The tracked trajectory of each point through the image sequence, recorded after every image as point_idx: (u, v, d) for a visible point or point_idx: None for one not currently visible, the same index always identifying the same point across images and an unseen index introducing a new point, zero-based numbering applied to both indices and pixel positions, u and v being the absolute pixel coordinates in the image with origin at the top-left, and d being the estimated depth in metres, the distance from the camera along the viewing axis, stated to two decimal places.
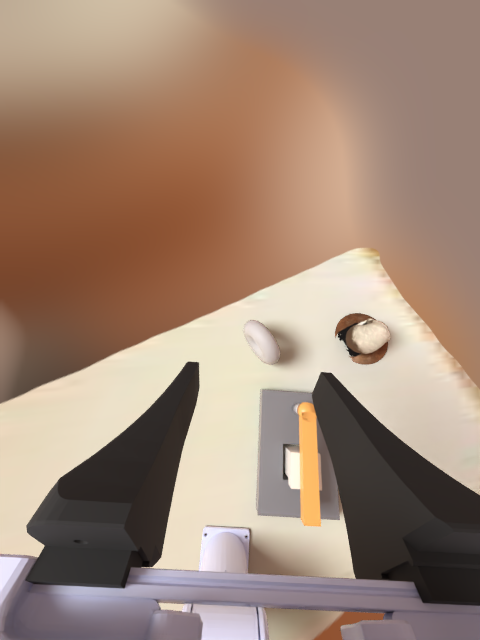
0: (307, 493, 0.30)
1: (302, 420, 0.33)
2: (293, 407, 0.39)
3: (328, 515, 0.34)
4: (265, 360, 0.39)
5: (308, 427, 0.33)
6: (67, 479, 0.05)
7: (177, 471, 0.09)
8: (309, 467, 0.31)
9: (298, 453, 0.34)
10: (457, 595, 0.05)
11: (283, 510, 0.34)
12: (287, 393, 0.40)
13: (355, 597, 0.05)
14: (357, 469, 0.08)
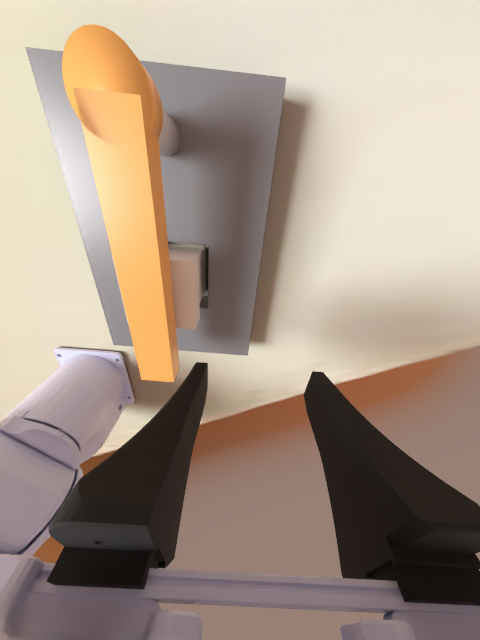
0: (140, 339, 0.13)
1: (88, 136, 0.08)
2: None
3: (229, 350, 0.21)
4: None
5: (117, 168, 0.08)
6: (87, 480, 0.05)
7: None
8: (138, 291, 0.11)
9: None
10: (438, 594, 0.05)
11: None
12: None
13: (355, 597, 0.05)
14: (345, 468, 0.08)
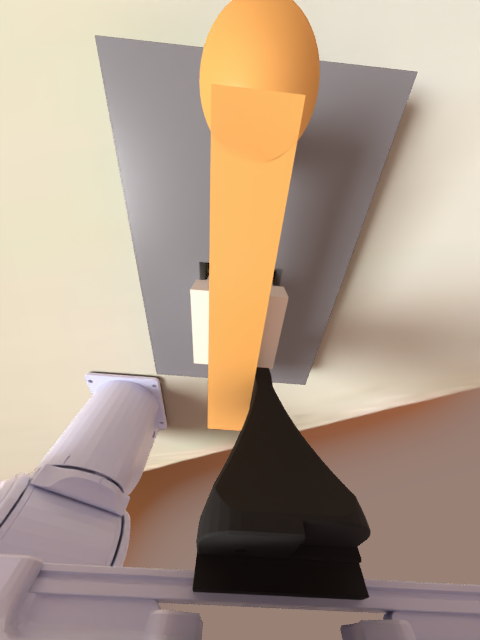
0: (219, 388, 0.11)
1: (214, 152, 0.06)
2: None
3: (286, 379, 0.19)
4: None
5: (244, 194, 0.06)
6: (222, 489, 0.05)
7: None
8: (231, 338, 0.09)
9: None
10: (308, 587, 0.05)
11: (203, 370, 0.18)
12: None
13: (355, 597, 0.05)
14: None
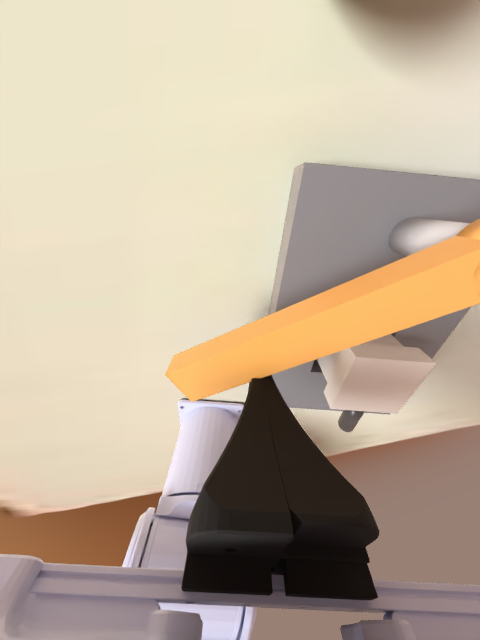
0: (235, 357, 0.10)
1: (478, 251, 0.07)
2: (399, 232, 0.12)
3: None
4: None
5: (448, 286, 0.08)
6: (212, 488, 0.05)
7: None
8: (305, 338, 0.09)
9: (376, 359, 0.12)
10: (317, 588, 0.05)
11: (300, 402, 0.21)
12: (395, 180, 0.11)
13: (355, 597, 0.05)
14: None
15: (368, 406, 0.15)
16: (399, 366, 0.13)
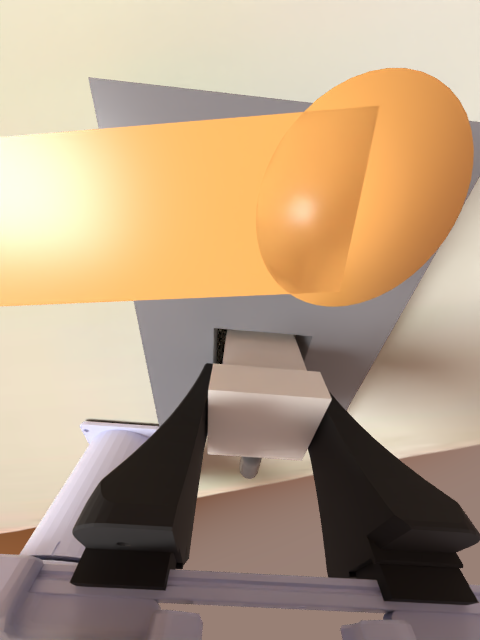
0: None
1: (268, 128, 0.03)
2: None
3: None
4: None
5: (204, 216, 0.03)
6: (109, 481, 0.05)
7: None
8: None
9: (240, 392, 0.08)
10: (417, 593, 0.05)
11: None
12: (244, 111, 0.07)
13: (355, 597, 0.05)
14: (331, 467, 0.08)
15: (258, 451, 0.10)
16: (278, 403, 0.08)
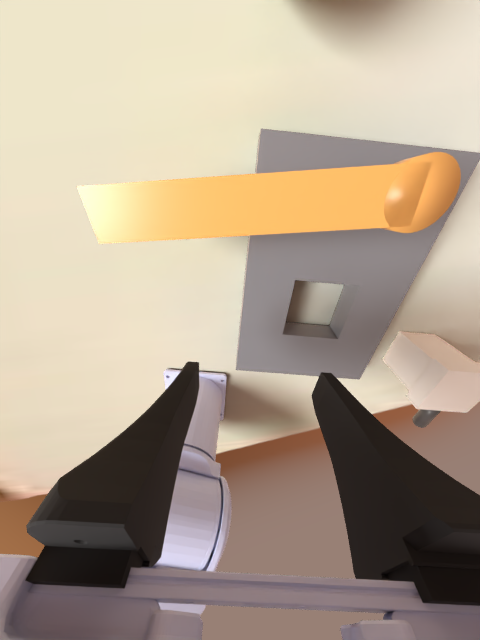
0: (165, 196, 0.09)
1: (397, 167, 0.08)
2: None
3: (344, 374, 0.22)
4: None
5: (368, 195, 0.09)
6: (68, 479, 0.05)
7: (177, 471, 0.09)
8: (240, 202, 0.09)
9: (462, 372, 0.17)
10: (457, 595, 0.05)
11: (276, 367, 0.22)
12: (341, 145, 0.13)
13: (355, 597, 0.05)
14: (357, 469, 0.08)
15: (446, 407, 0.19)
16: (478, 377, 0.17)
